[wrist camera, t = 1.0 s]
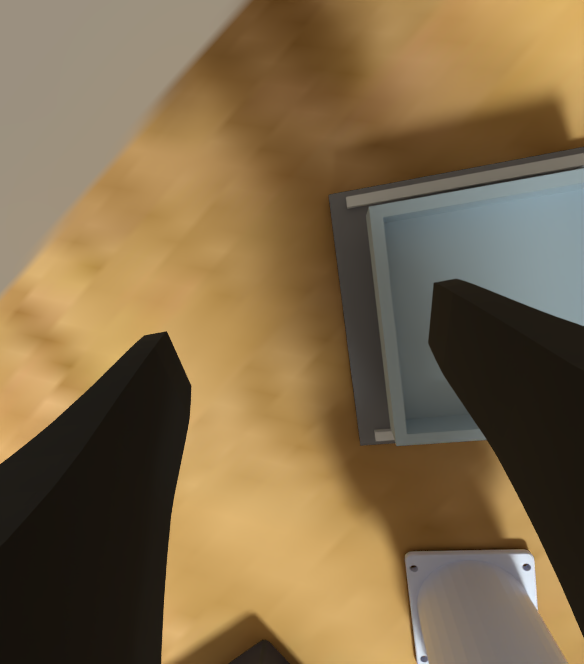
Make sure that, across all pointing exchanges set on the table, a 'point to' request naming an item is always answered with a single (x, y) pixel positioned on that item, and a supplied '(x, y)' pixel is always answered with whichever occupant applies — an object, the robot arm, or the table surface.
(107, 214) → the table surface
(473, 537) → the table surface
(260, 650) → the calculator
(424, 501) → the table surface
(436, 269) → the light blue storage bin
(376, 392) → the track
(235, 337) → the table surface
